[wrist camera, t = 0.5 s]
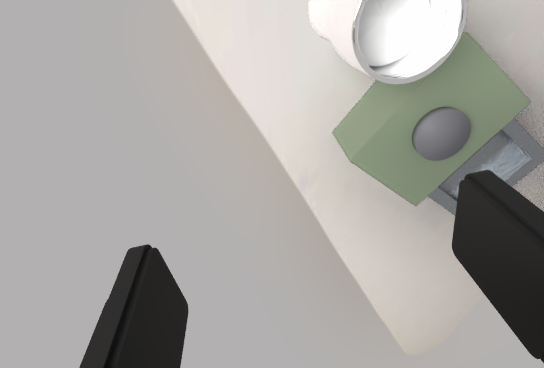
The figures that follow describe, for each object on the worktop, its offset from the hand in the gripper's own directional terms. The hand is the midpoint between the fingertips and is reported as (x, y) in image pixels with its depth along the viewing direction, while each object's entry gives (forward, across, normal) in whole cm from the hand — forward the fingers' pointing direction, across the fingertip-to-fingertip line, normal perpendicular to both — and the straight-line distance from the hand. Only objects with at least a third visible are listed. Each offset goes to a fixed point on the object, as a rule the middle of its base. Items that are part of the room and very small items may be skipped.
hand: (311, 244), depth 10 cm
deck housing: (+27, -15, +9) cm, 32 cm away
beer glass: (+27, -8, -3) cm, 29 cm away
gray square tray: (+27, -22, +17) cm, 39 cm away
